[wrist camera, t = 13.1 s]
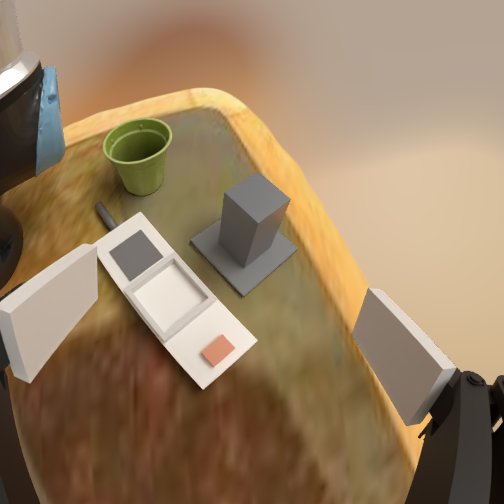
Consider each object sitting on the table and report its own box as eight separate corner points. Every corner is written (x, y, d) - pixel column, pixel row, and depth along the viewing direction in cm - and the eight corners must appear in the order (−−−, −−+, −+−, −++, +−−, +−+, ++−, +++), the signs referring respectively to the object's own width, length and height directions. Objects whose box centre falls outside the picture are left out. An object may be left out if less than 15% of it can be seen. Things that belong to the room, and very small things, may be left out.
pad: (190, 241, 37) (190, 239, 37) (245, 203, 42) (246, 201, 41) (243, 297, 35) (243, 295, 34) (296, 250, 39) (297, 248, 39)
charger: (218, 241, 37) (223, 191, 29) (244, 222, 39) (257, 171, 31) (244, 268, 36) (258, 223, 27) (270, 246, 38) (290, 199, 30)
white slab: (78, 224, 36) (70, 211, 33) (122, 194, 39) (118, 180, 37) (203, 389, 29) (202, 389, 26) (254, 343, 32) (259, 338, 30)
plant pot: (182, 194, 41) (180, 150, 33) (120, 214, 38) (106, 171, 30) (165, 154, 44) (163, 111, 37) (111, 170, 41) (100, 128, 34)
